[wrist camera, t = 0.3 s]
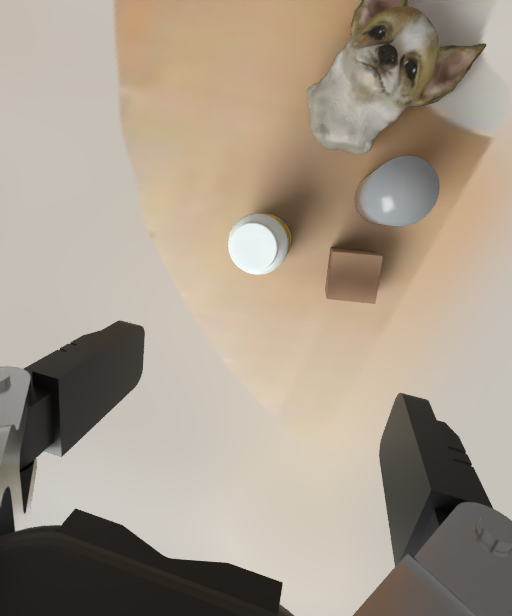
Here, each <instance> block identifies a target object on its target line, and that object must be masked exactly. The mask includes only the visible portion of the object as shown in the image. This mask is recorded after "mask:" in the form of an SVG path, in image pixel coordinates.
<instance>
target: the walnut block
mask: <svg viewBox="0 0 512 616" xmlns="http://www.w3.org/2000/svg"><path fill="white" fill-rule="evenodd" d="M382 259H383V256H382V255H380V254H378V253H377V252H374V251H363V250H351V249H339V248H330V255H329V263H328V271H327V279H326V287H325V292H326V297H327V299H333V300H343V301H353V302H362V303H372V304H375V302H376V296H377V290H378V284H379V278H380V272H381V266H382Z"/></svg>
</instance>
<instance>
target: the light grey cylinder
mask: <svg viewBox="0 0 512 616" xmlns="http://www.w3.org/2000/svg"><path fill="white" fill-rule="evenodd" d="M438 194H439V180H438V176H437V174H436V171H435V170H434V168H433V167H432V166H431V165H430V164H429V163H428V162H427V161H425V160H424V159H422V158H419V157H416V156H410V155H409V156H399V157H396V158H393V159H391V160H389V161H388V162H386V163H385V164H383V165H382V166H381V167H379V168H378V169H377V170H375V171H374V172H373V173H371V174H370V175H369V176H367V177H366V178H365V179H364V180H363V181H362V182H361V183H360V184H359V186H358V188H357V190H356V193H355V207H356V210H357V212H358V213H359V215H360V216H361V217H362V218H363V219H364V220H366V221H368V222H370V223H373V224H383V225H394V226H405V225H410V224H413V223H416V222H417V221H419V220H421V219H422V218H424V217H425V216H426V215H427V214H428V213H429V212H430V211H431V210H432V208H433V207H434V205H435V203H436V201H437V198H438Z"/></svg>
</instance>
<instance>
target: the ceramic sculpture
mask: <svg viewBox="0 0 512 616" xmlns="http://www.w3.org/2000/svg"><path fill="white" fill-rule="evenodd" d="M485 47H486V44H484V43H483V44H479V45H475V46H455V45H453V46H445V47H441V48H439V49H438V36H437V34H436V31H435V29H434V27H433V25H432V24H431V22H430V21H429V19H428V18H427V17H426V16H425V15H424V14H422V13H421V12H420V11H418V10H417V9H415V8H412V7H409V6H407V0H362V2H361V4H360V5H359V7H358V8H357V9H356V10H355V12H354V16H353V20H352V25H351V40H350V41H349V42H348V43H347V44H346V46H345V47H344V48H343V50H342V51H341V52H340V53H339V54H338V55H337V56H336V58H335V59H334V63H333V64H332V66H331V67H330V69H329V72H328V74H327V75H326V76H325V77H323V78H322V79H321V81H320V82H318V83H316V84H314V85H312V86H311V87H309V88H308V90H307V94H308V107H309V110H310V116H311V130H312V133H313V136H314V137H315V139H317V140H318V141H319V142H320V143H321V145H322V146H323V147H325V148H327V149H330V150H337V149H342V150H344V151H347V152H350V153H352V154H355V155H358V154H363V153H367V152H368V151H369V150H370V149H371V147H372V144H373V143H374V141H375V138H376V137H377V135H378V134H379V133H380V132H381V131H382V130H383V129H385V128H386V127H387V126H388V125H389V124H390V123H393V122H395V121H396V120H397V118H398V117H399V116H400V115H401V113H402V112H403V111H404V110H405V108H407V107H408V106H424V105H427V104H431V103H434V102H437V101H439V100H440V99H441V98H442V97H443V96H445V95H446V94H448V93H449V92H451V91H453V90H454V88H455V87H456V85H457V84H458V83H459V82H460V81H461V79H462V78H463V77H464V75H465V74H466V73H467V71H468V70H469V69H470V67H471V65H472V63H473V62H474V61H475V60H476V58H477V57H478V56H479V55H480V53H481V52H482V51H483V49H484V48H485Z"/></svg>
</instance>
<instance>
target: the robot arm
mask: <svg viewBox="0 0 512 616" xmlns="http://www.w3.org/2000/svg"><path fill="white" fill-rule="evenodd" d="M144 336H145V333H144V328H143V327H142V326H140V325H136V324H132V323H128V322H124V321H117V322H115V323H113V324H112V325H110V326H108V327H107V328H105V329H103V330H101V331H97V332H94V333H91V334H87V335H83V336H81V337H80V338H78V339H76V340H74V341H73V342H71V343H70V344H67V345H65V346H64V347H62V348H60V350H57V351H55V352H53V353H51V354H49V355H48V356H46V357H44V358H42V359H40V360H38V361H37V362H35V363H33V364H31V365H29V366H28V367H26V368H24V369H21V368H17V367H0V616H294V615H293V614H291V613H290V612H289V611H288V610H287V609H285V608H284V607H283V606H281V605H280V604H279V603H280V596H281V590H282V582H279V581H277V580H274V579H271V578H268V577H265V576H263V575H259V574H257V573H254V572H251V571H248V570H246V569H243V568H240V567H237V566H235V565H232V564H229V563H221V562H207V561H194V560H180V559H171V558H167V557H165V556H163V555H162V554H160V553H159V552H157V551H156V550H155V549H153V548H152V547H151V546H150V545H148V544H147V543H145V542H144V541H143V540H141V539H140V538H139V537H137V536H136V535H135V534H133V533H132V532H131V531H129V530H128V529H127V528H125V527H124V526H123V525H120V524H117V523H114V522H112V521H109V520H106V519H103V518H101V517H98V516H95V515H92V514H89V513H86V512H84V511H81V510H78V509H75V510H74V511H73V512H72V513H71V514H70V516H69V517H68V518H67V519H66V520H65V522H64V523H63V524H62V525H61V526H60V525H55V526H40V527H33V528H28V522H29V515H30V509H31V502H32V496H33V489H34V482H35V475H36V469H37V459H36V457H37V456H39V455H40V454H41V453H42V452H43V451H45V452H48V453H51V454H54V455H57V456H60V457H62V456H63V455H64V454H65V453H66V452H67V451H68V450H69V449H71V447H73V446H74V445H75V444H76V443H77V442H78V441H79V440H80V439H81V438H82V437H83V436H84V435H85V434H86V433H87V432H88V431H89V430H90V429H91V428H92V427H94V426H95V425H96V424H97V423H98V422H99V421H100V420H101V419H102V418H103V417H104V416H105V415H106V414H107V413H108V412H109V411H110V410H111V409H112V408H114V407H115V406H116V405H117V404H118V403H119V402H120V401H121V400H122V399H123V398H124V397H125V396H126V395H127V394H128V393H129V392H130V391H132V390H133V389H134V388H135V386H136V385H137V384H138V382H139V380H140V378H141V374H142V370H143V354H144ZM465 452H466V451H465V449H464V447H463V445H462V443H461V441H460V439H459V437H458V436H457V435H456V433H454V431H453V430H452V429H450V427H449V426H448V425H447V424H446V423H445V422H441V421H437V420H436V418H435V415H434V413H433V410H432V408H431V406H430V403H429V401H428V400H426V399H422V398H418V397H414V396H410V395H406V394H403V393H399V394H398V395H397V397H396V399H395V402H394V405H393V407H392V410H391V413H390V416H389V419H388V422H387V424H386V427H385V430H384V433H383V435H382V439H381V443H380V453H379V457H380V465H381V472H382V479H383V486H384V492H385V500H386V507H387V514H388V521H389V528H390V534H391V541H392V548H393V555H394V562H395V568H394V569H393V570H392V571H391V572H390V574H389V575H388V576H387V577H386V578H385V579H384V581H383V582H382V583H381V584H380V585H379V586H378V587H377V589H376V590H375V591H374V592H373V593H372V594H371V595H370V597H369V598H368V599H367V600H366V601H365V602H364V603H363V605H362V606H361V607H360V608H359V609H358V610H357V611H356V613H355V614H354V615H353V616H512V521H511V520H510V519H509V518H507V517H506V516H504V515H503V514H501V513H500V512H498V511H496V510H494V509H493V507H492V505H491V503H490V501H489V499H488V497H487V495H486V493H485V491H484V488H483V486H482V484H481V482H480V480H479V478H478V476H477V474H476V472H475V470H474V468H473V467H471V465H472V464H471V461H470V459H469V457H468V455H467V454H465Z"/></svg>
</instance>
